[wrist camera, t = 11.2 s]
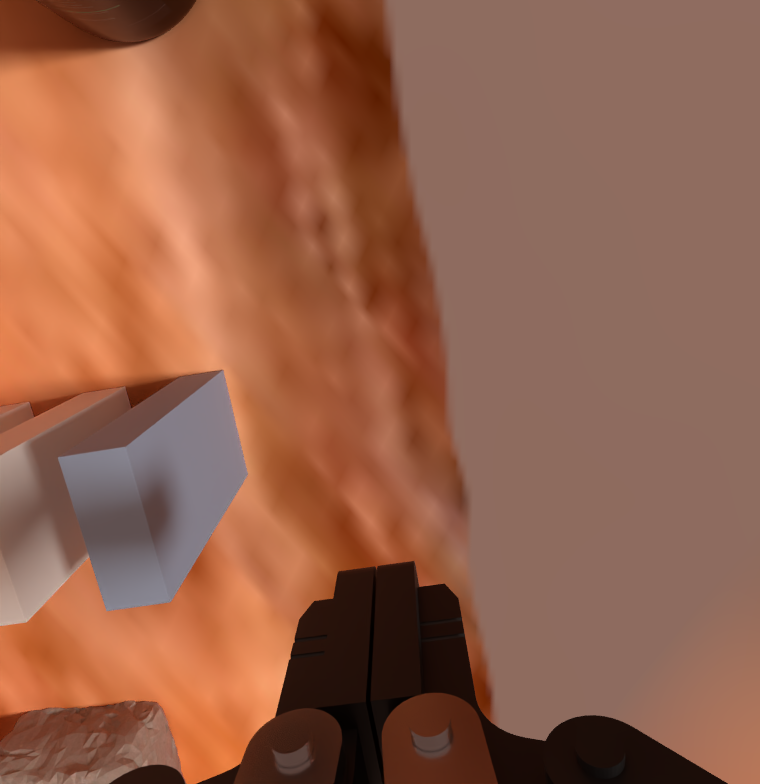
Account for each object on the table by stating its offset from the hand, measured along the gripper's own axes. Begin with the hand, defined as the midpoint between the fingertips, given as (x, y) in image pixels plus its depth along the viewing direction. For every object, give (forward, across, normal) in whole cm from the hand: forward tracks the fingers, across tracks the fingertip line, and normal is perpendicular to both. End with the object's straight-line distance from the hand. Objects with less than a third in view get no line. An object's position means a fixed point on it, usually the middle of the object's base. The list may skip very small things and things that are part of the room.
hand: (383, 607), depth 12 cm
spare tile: (+15, +8, 0) cm, 17 cm away
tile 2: (+15, +12, 0) cm, 20 cm away
